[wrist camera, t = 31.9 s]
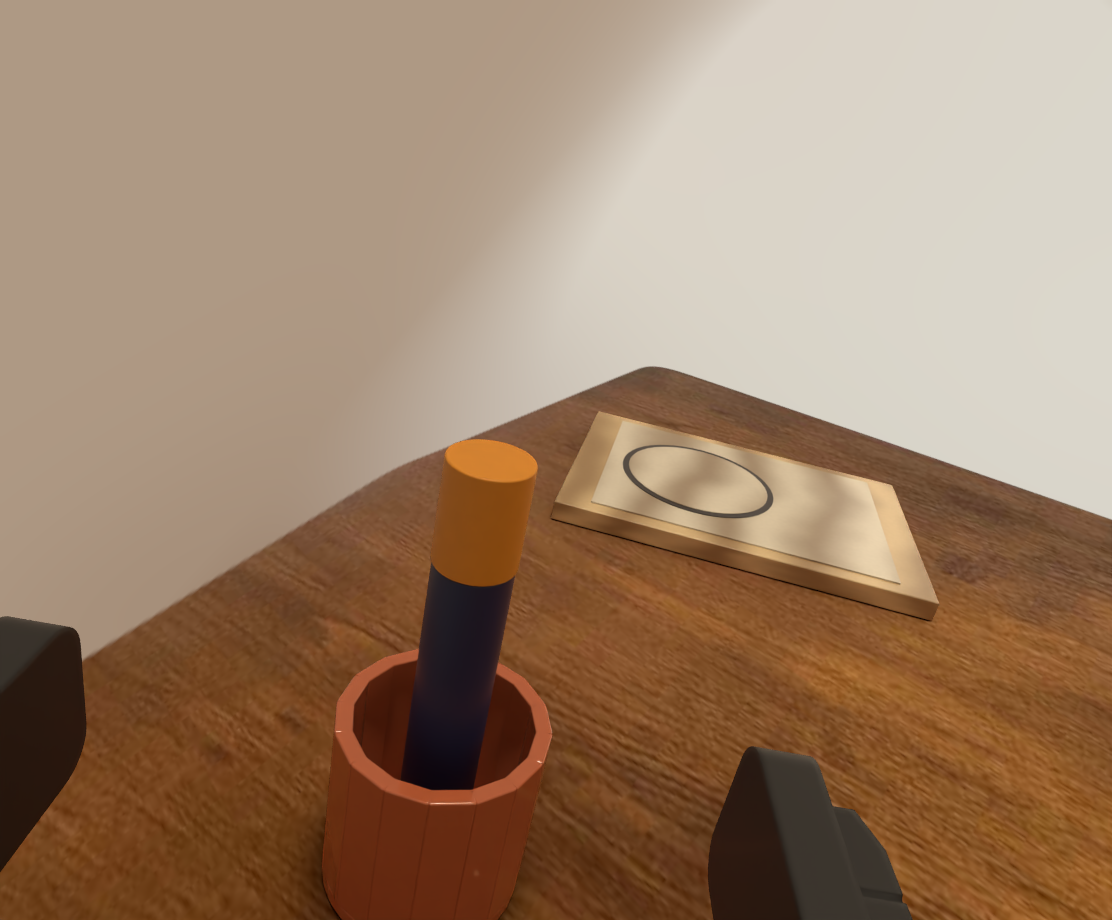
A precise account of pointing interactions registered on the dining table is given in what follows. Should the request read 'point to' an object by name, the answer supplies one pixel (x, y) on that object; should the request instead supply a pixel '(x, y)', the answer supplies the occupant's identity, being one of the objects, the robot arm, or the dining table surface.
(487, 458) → the marker
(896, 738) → the dining table surface
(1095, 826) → the dining table surface
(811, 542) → the drawing board
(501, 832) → the pen pot
